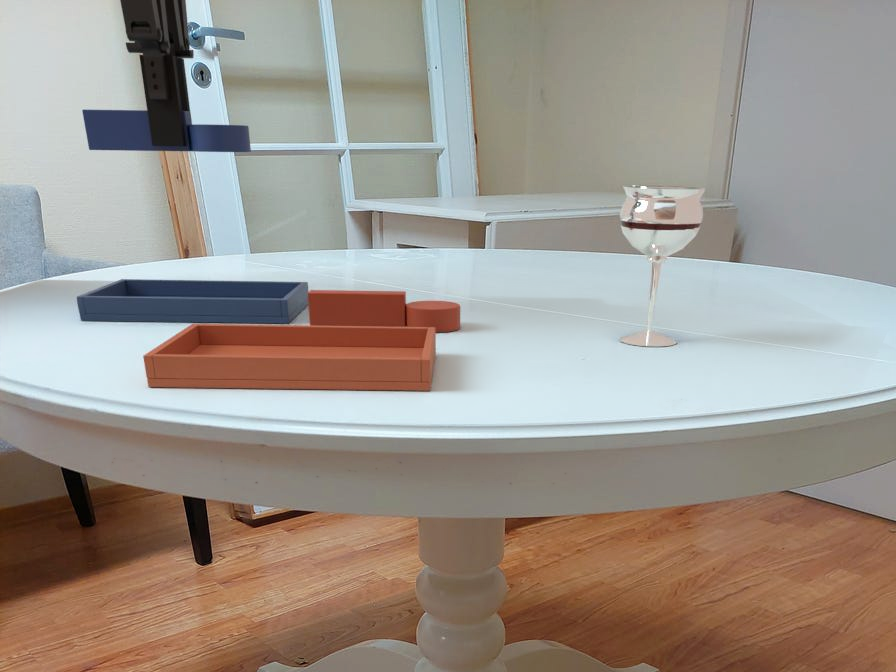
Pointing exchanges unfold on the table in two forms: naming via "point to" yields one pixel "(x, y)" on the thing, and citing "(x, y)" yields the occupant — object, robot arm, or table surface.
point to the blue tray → (195, 301)
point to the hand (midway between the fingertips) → (173, 145)
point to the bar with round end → (380, 310)
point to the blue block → (134, 133)
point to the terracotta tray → (295, 357)
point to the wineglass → (659, 236)
